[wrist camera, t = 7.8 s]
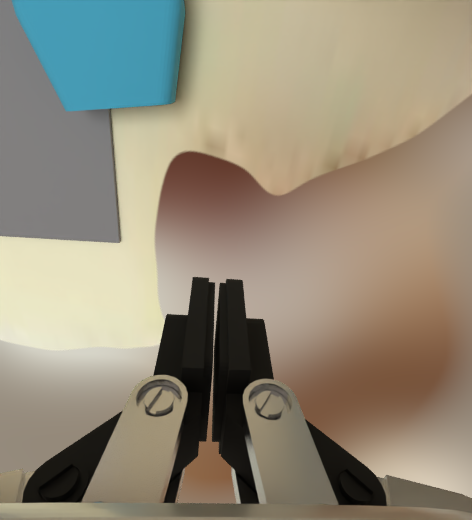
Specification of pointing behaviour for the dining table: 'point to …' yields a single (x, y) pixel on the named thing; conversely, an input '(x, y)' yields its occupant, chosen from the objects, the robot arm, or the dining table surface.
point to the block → (106, 49)
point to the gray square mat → (50, 152)
